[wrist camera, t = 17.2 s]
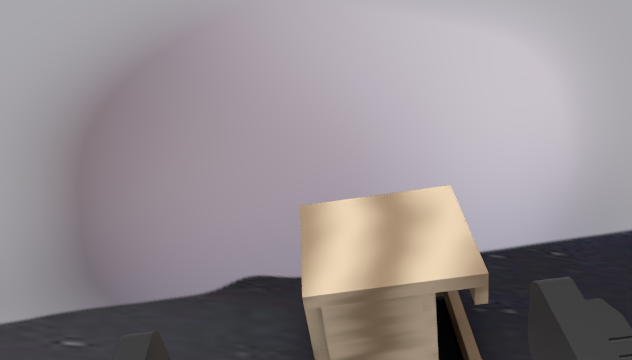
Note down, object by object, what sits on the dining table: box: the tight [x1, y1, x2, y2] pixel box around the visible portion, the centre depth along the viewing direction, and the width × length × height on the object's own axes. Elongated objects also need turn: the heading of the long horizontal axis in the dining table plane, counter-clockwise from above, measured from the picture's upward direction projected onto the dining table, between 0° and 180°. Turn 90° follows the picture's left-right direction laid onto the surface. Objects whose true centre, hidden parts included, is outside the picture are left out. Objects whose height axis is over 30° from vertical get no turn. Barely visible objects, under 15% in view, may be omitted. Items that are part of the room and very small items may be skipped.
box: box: [300, 185, 488, 360], centre depth 43 cm, size 11×10×11 cm
